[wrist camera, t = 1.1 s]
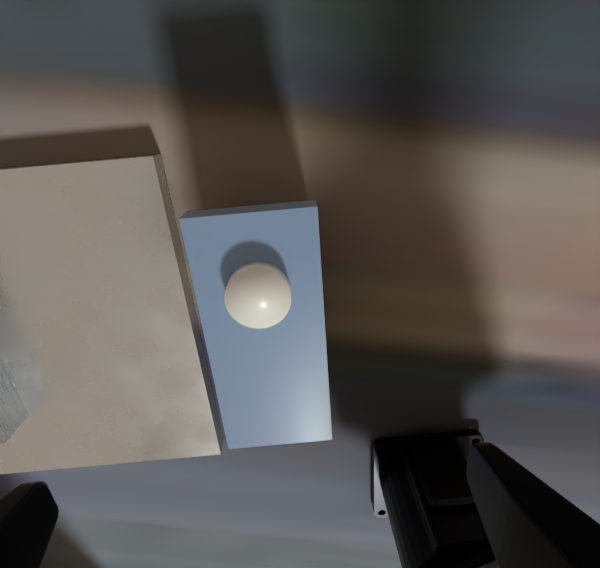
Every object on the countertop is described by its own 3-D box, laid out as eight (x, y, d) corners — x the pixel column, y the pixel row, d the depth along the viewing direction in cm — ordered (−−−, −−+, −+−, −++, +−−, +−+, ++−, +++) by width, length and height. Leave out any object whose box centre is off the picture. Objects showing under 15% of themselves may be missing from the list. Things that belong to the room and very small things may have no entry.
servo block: (319, 351, 20) (334, 452, 14) (244, 358, 20) (226, 462, 14) (306, 177, 16) (319, 211, 10) (215, 186, 16) (173, 223, 10)
